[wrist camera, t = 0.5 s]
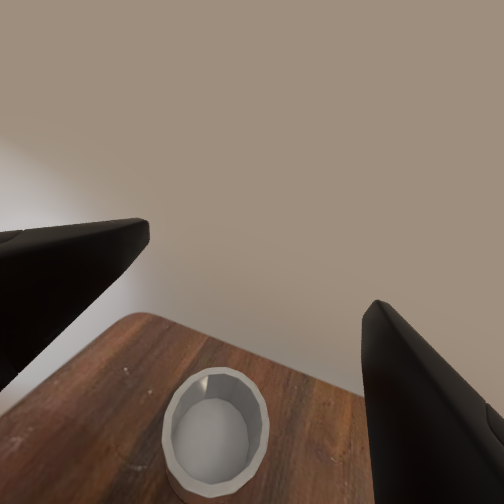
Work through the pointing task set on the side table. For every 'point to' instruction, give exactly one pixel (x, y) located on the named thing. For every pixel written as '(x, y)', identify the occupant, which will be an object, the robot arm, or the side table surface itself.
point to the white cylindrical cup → (214, 435)
